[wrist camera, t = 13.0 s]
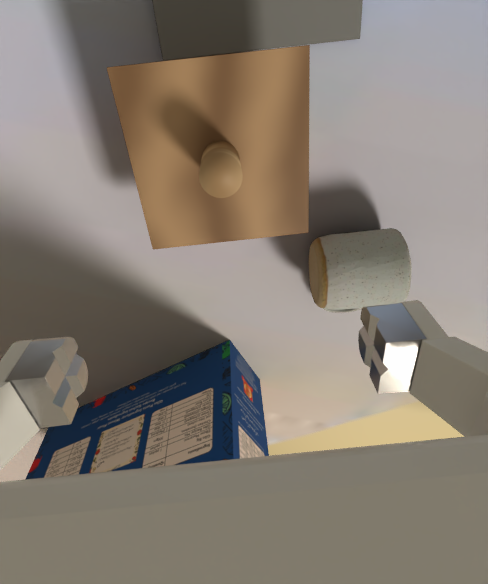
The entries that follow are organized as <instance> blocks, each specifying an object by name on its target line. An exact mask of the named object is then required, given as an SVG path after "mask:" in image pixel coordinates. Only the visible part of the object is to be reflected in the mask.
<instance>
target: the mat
mask: <svg viewBox="0 0 488 584" xmlns="http://www.w3.org/2000/svg"><path fill="white" fill-rule="evenodd" d="M362 1H363V0H152V2H153V7H154V13H155V18H156V24H157V29H158V35H159V40H160V46H161V52H162V57H163V60H171V59H180V58H189V57H198V56H207V55H216V54H225V53H234V52H243V51H253V50H262V49H271V48H280V47H289V46H298V45H307V44H316V43H325V42H334V41H343V40H352V39H360V31H361V16H362Z"/></svg>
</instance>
